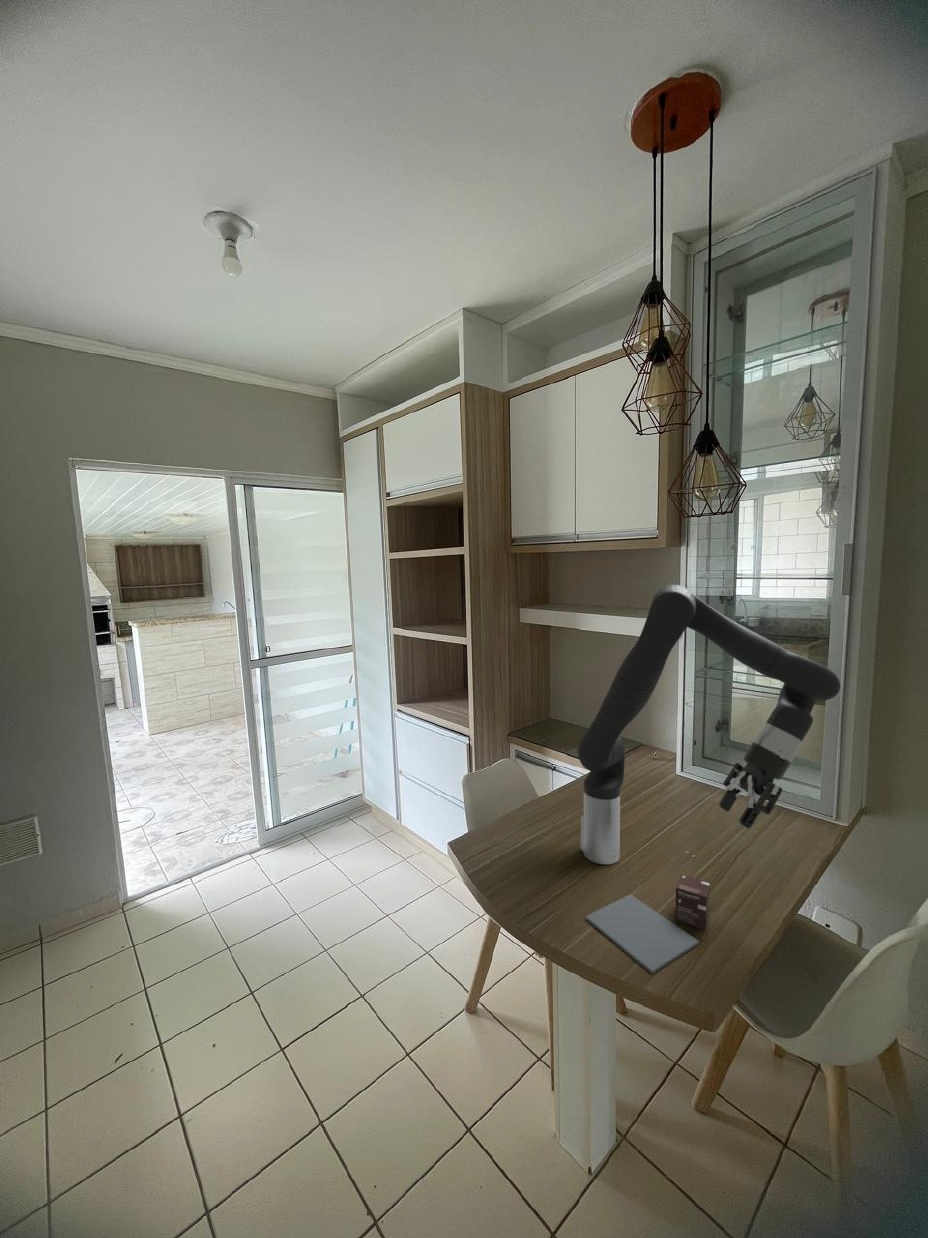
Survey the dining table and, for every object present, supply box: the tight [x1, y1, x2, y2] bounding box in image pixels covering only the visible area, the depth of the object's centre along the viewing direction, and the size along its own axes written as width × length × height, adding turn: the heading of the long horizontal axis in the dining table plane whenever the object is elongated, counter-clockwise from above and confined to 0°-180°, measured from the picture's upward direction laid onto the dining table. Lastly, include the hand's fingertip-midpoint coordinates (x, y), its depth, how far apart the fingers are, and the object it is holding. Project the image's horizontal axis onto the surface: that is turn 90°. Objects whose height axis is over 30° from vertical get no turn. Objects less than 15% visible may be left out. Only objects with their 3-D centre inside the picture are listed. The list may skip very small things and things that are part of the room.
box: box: [674, 873, 711, 930], centre depth 103 cm, size 6×6×7 cm
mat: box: [585, 893, 700, 974], centre depth 99 cm, size 17×14×1 cm
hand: (733, 817), depth 101 cm, fingers open, 8 cm apart
